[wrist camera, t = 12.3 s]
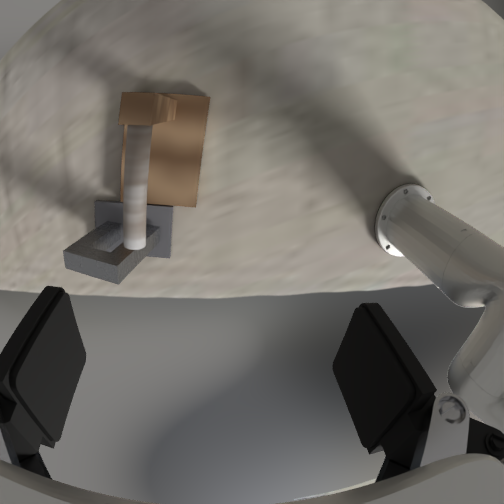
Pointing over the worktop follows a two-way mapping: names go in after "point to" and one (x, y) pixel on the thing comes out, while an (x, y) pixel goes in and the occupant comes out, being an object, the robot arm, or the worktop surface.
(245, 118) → the worktop surface
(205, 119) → the hook stand
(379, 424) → the robot arm
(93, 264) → the grey u-shaped bracket
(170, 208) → the rubber mat
